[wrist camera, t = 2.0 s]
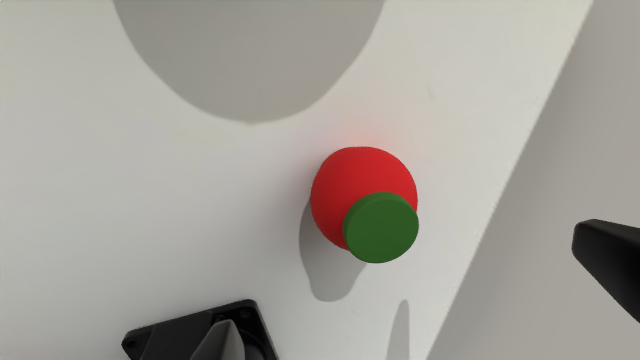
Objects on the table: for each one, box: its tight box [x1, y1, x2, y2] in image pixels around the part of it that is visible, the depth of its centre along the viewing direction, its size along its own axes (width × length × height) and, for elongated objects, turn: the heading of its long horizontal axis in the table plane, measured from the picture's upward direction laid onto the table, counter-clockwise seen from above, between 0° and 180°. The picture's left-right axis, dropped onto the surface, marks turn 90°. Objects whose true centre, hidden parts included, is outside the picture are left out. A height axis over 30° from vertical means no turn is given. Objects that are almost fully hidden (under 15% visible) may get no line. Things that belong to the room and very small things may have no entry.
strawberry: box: [310, 147, 419, 263], centre depth 12 cm, size 4×4×4 cm
